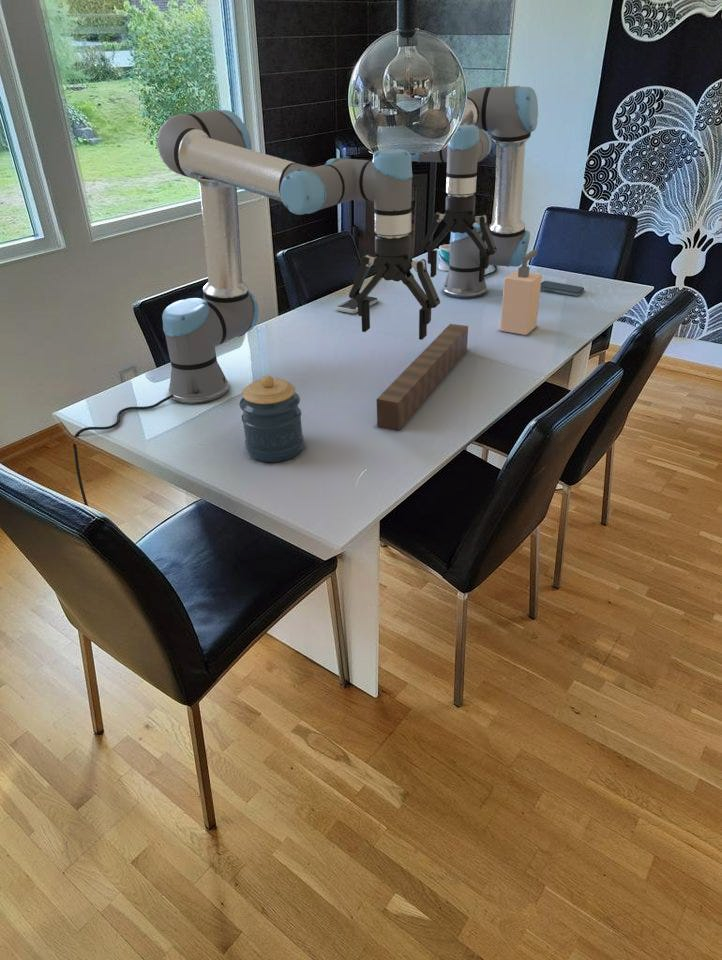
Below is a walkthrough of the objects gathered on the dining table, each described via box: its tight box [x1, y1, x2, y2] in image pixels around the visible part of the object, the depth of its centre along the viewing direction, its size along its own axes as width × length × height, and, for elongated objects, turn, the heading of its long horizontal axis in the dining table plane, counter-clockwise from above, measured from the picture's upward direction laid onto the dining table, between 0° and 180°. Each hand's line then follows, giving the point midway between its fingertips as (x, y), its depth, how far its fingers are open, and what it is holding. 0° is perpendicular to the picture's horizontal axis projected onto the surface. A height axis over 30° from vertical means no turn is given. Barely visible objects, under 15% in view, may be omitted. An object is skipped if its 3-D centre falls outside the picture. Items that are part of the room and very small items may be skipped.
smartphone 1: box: [335, 295, 378, 314], centre depth 231 cm, size 8×1×15 cm
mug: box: [438, 243, 450, 272], centre depth 266 cm, size 8×12×8 cm
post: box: [376, 323, 469, 432], centre depth 175 cm, size 52×5×7 cm, turn 155°
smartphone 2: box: [540, 280, 585, 297], centre depth 238 cm, size 8×2×15 cm
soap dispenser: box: [499, 249, 543, 336], centre depth 204 cm, size 13×9×22 cm
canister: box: [239, 374, 305, 463], centre depth 146 cm, size 13×13×18 cm
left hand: (393, 333), depth 148 cm, fingers open, 13 cm apart
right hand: (457, 278), depth 182 cm, fingers open, 13 cm apart
